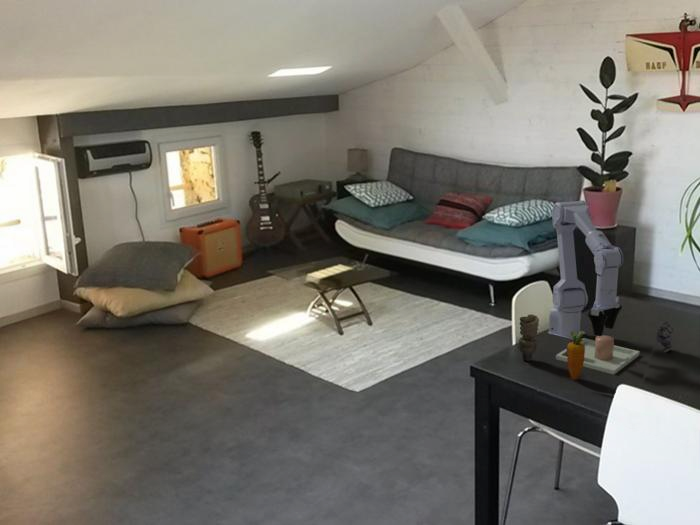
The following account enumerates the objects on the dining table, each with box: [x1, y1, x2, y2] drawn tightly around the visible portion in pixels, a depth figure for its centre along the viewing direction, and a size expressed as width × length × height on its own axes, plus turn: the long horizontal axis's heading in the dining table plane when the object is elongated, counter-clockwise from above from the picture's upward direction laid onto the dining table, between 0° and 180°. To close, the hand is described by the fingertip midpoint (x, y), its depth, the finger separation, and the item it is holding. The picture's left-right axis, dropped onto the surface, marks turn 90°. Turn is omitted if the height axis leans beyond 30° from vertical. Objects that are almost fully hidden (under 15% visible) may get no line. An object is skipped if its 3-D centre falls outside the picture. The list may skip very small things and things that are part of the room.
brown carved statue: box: [518, 314, 540, 362], centre depth 216 cm, size 6×6×15 cm
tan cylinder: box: [594, 334, 615, 361], centre depth 217 cm, size 5×5×6 cm
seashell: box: [655, 320, 676, 353], centre depth 221 cm, size 5×5×10 cm
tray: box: [555, 337, 640, 375], centre depth 218 cm, size 18×18×2 cm
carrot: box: [566, 331, 585, 381], centre depth 202 cm, size 5×5×15 cm
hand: (603, 331), depth 216 cm, fingers open, 7 cm apart
